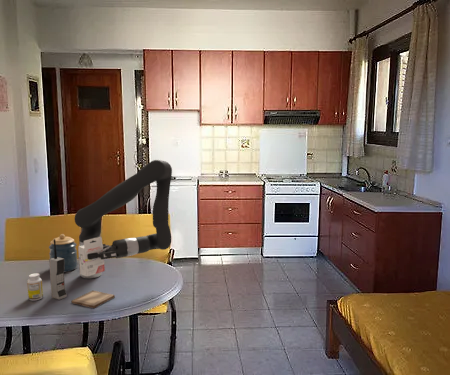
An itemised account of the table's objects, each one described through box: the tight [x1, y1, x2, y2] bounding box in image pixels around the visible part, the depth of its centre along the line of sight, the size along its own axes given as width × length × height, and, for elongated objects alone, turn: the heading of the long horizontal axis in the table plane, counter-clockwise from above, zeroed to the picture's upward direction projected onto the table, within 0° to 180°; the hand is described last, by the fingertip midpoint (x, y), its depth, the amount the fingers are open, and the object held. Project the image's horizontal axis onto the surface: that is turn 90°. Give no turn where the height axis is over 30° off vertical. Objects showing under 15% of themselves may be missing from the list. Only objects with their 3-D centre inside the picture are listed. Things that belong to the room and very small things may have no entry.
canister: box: [48, 233, 79, 273], centre depth 215 cm, size 13×13×18 cm
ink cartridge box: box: [77, 236, 106, 276], centre depth 174 cm, size 9×5×15 cm, turn 138°
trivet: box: [71, 290, 116, 309], centre depth 177 cm, size 12×12×1 cm
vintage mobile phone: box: [48, 238, 68, 301], centre depth 178 cm, size 4×5×25 cm
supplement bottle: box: [26, 272, 44, 302], centre depth 178 cm, size 6×6×10 cm
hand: (85, 254), depth 173 cm, fingers closed on ink cartridge box, 6 cm apart
